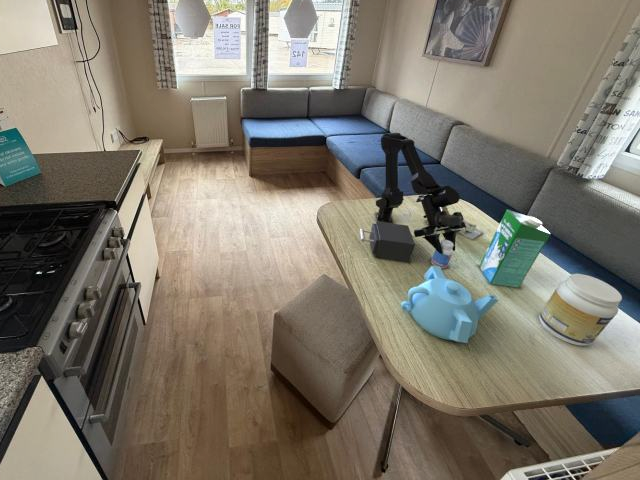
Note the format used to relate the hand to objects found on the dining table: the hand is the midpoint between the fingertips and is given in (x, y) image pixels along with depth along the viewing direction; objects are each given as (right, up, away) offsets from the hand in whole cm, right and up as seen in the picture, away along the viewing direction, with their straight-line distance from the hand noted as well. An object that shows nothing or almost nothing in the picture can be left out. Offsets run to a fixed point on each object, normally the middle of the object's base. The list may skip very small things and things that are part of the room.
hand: (447, 252), depth 111 cm
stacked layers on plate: (+23, +5, +24) cm, 34 cm away
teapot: (-13, -17, -18) cm, 28 cm away
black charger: (-16, -1, +11) cm, 20 cm away
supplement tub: (+22, -19, -20) cm, 35 cm away
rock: (+14, +7, +29) cm, 33 cm away
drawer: (-20, 0, +11) cm, 23 cm away
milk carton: (+18, -9, -1) cm, 20 cm away
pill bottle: (-1, -5, +4) cm, 7 cm away
